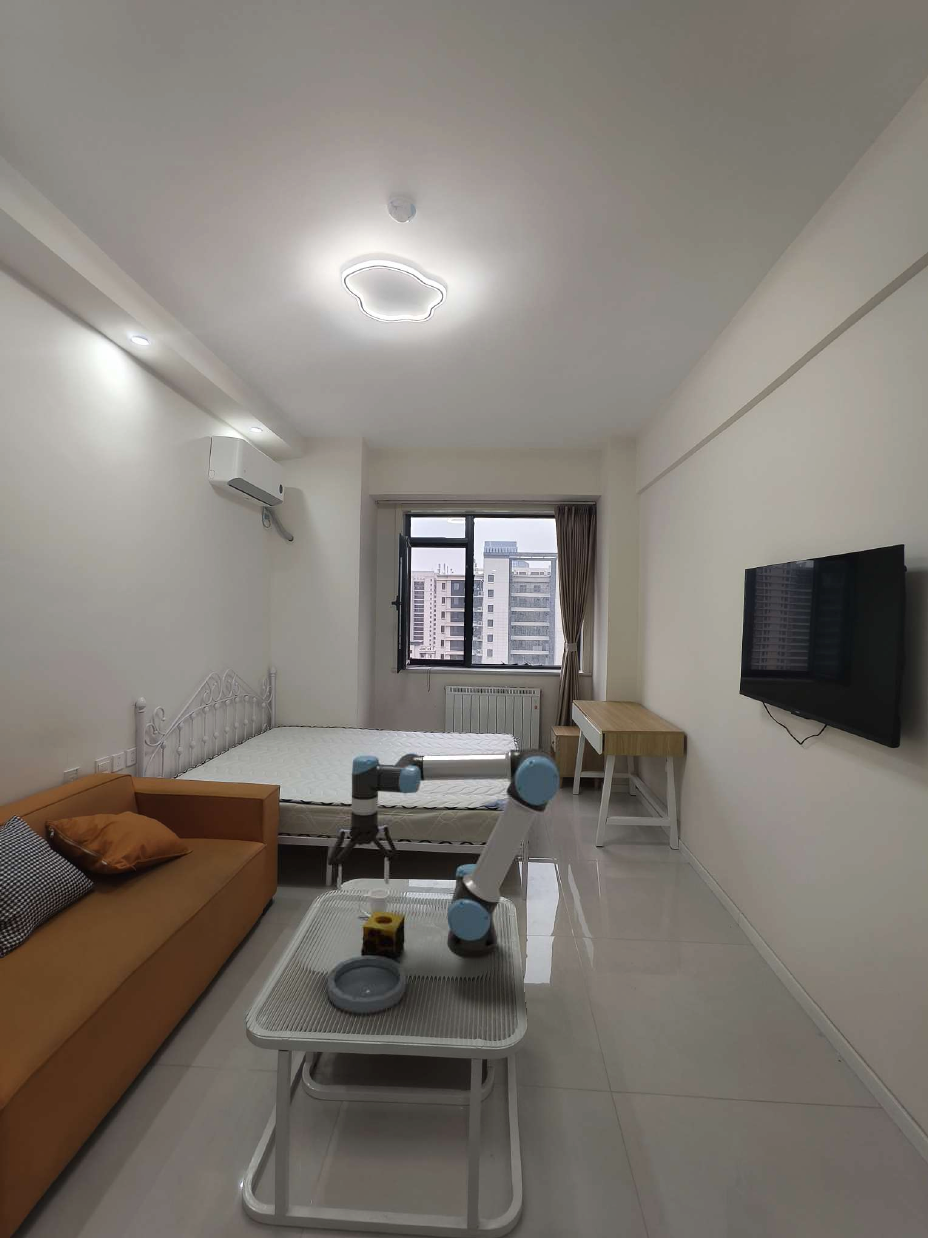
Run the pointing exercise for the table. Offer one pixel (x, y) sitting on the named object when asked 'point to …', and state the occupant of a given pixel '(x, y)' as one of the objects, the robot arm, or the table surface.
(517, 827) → the robot arm
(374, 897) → the cup
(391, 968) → the dish
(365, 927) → the candle
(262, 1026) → the table surface
